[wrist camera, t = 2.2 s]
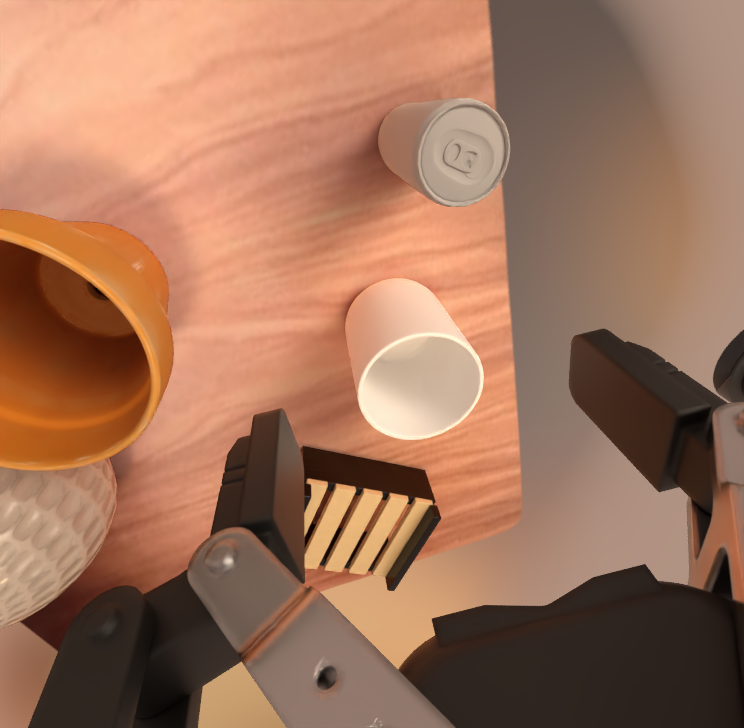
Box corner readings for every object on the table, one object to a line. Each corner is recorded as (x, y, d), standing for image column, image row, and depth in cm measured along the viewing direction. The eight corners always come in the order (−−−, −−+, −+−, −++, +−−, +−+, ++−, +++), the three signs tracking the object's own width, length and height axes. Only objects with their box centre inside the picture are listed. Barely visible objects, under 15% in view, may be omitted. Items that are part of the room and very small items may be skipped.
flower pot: (-4, 142, 27) (-214, 166, 16) (224, 224, 32) (182, 287, 20) (-6, 332, 33) (-159, 443, 22) (186, 379, 38) (138, 491, 27)
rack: (425, 470, 47) (441, 518, 42) (384, 539, 53) (394, 591, 47) (303, 445, 43) (303, 495, 38) (271, 524, 48) (267, 578, 43)
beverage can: (425, 187, 32) (482, 224, 22) (366, 162, 31) (398, 188, 21) (454, 119, 30) (532, 124, 20) (392, 88, 29) (442, 77, 18)
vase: (128, 394, 38) (24, 568, 23) (147, 497, 44) (74, 684, 30) (-41, 390, 35) (-272, 581, 21) (4, 500, 41) (-150, 703, 27)
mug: (361, 401, 41) (377, 484, 32) (334, 287, 35) (345, 349, 26) (447, 382, 42) (487, 458, 33) (435, 264, 35) (481, 319, 26)
